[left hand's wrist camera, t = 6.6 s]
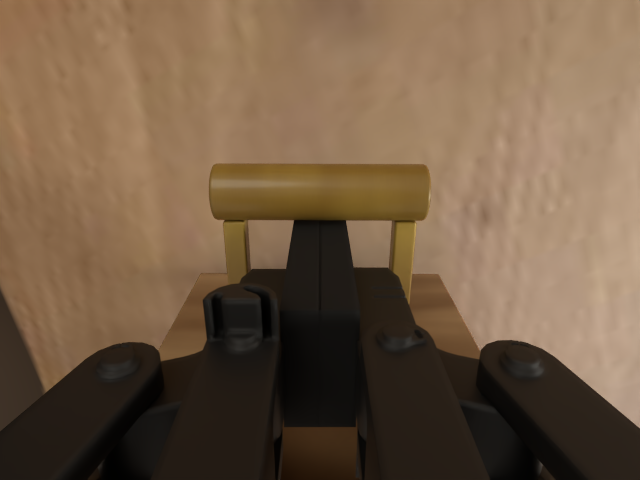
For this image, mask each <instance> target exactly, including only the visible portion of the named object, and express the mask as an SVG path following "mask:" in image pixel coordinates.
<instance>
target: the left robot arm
mask: <svg viewBox="0 0 640 480" xmlns="http://www.w3.org/2000/svg"><path fill="white" fill-rule="evenodd" d="M203 309H204V318H205V327H206V336H207V340H206V343H205V345H204V348H203V350H202V351H199V352H197V353H195V354H191V355H188V356H184V357H179V358H174V359H170V360H165V361H161V359H160V353H159V351H158V350H157V349H156V348H155V347H154V346H151V345H148V344H145V343H136V342H128V343H122V344H116V345H112V346H110V347H107V348H105V349H102V350H100V351H97V352H96V353H94V354H93V355H91V356H90V357H88V358H87V359H85V360H84V361H83V362H82V363H81V364H79V365H78V366H77V367H76V368H75V369H74V370H72V371H71V372H70V373H69V374H68V375H66V376H65V377H64V378H63V379H62V380H61V381H59V382H58V383H57V384H56V385H55V386H53V387H52V388H51V389H50V390H49V391H48V392H46V393H45V394H44V395H43V396H42V397H40V398H39V399H38V400H37V401H36V402H35V403H33V404H32V405H31V406H30V407H29V408H27V409H26V410H25V411H24V412H23V413H22V414H20V415H19V416H18V417H17V418H16V419H14V420H13V421H12V422H11V423H10V424H9V425H7V426H6V427H5V428H4V429H3V430H2V431H0V480H280V479H281V468H282V458H283V419H284V427H356V418H357V427H358V428H357V453H356V477H355V478H360V480H640V428H639V427H637V426H636V425H635V424H634V423H633V422H631V421H630V420H629V419H628V418H627V417H625V416H624V415H623V414H622V413H621V412H619V411H618V410H617V409H616V408H615V407H614V406H612V405H611V404H610V403H609V402H608V401H606V400H605V399H604V398H603V397H602V396H600V395H599V394H598V393H597V392H596V391H594V390H593V389H592V388H591V387H590V386H589V385H587V384H586V383H585V382H584V381H583V380H581V379H580V378H579V377H578V376H577V375H575V374H574V373H573V372H572V371H571V370H569V369H568V368H567V367H566V366H565V365H564V364H562V363H561V362H560V361H559V360H558V359H556V358H555V357H554V356H552V355H551V354H549V353H548V352H546V351H545V350H543V349H541V348H538V347H536V346H533V345H531V344H528V343H525V342H521V341H520V342H518V341H513V340H502V341H495V342H492V343H489V344H486V345H485V347H484V348H483V349H482V350H481V351H480V358H479V359H475V358H470V357H465V356H460V355H456V354H452V353H448V352H445V351H443V350H441V349H438V348H437V347H436V345H435V342H434V340H433V338H432V337H431V335H430V334H429V333H428V331H426V330H425V329H423V328H421V327H420V326H418V325H416V323H415V320H414V317H413V314H412V312H411V309H410V306H409V303H408V301H407V298H406V295H405V292H404V290H403V287H402V284H401V282H400V279H399V276H397V275H396V274H395V273H393V272H392V271H391V270H390V269H388V268H353V262H352V256H351V250H350V244H349V237H348V231H347V225H346V220H294V224H293V231H292V237H291V243H290V249H289V255H288V261H287V267H286V269H252V270H251V271H250V272H248V273H247V274H246V275H245V276H243V277H242V278H241V280H240V283H237V284H230V285H226V286H223V287H219V288H217V289H215V290H213V291H212V292H210V293H208V294H207V295H206V297H205V298H204V299H203Z"/></svg>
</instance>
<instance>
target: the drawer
mask: <svg viewBox="0 0 640 480" xmlns="http://www.w3.org/2000/svg"><path fill="white" fill-rule="evenodd" d="M209 200H210V207H211V211H212V214H213V216H214V218H215V219H217V220H225V221H224V222H223V228H224V240H225V252H226V264H227V274H222V273H202V274H200V276H199V278H198V280H197V282H196V283H195V285H194V287H193V289H192V291H191V292H190V294H189V296H188V298H187V300H186V301H185V303H184V305H183V307H182V309H181V310H180V312H179V314H178V316H177V318H176V319H175V321H174V323H173V325H172V327H171V329H170V330H169V332H168V334H167V336H166V338H165V339H164V341H163V343H162V345H161V347H160V348H159V350H158V351H159V353H160V359H161V361H165V360H170V359H174V358H179V357H184V356H188V355H191V354H195V353H197V352H199V351H202V350H203V348H204V345H205V343H206V340H207V336H206V327H205V318H204V309H203V299H204V298H205V297H206V295H207V294H208V293H210V292H212V291H213V290H215V289H217V288H219V287H223V286H226V285H230V284H237V283H240V280H241V278H242V277H243V276H245V275H246V274H247V273H248V272H250V271H251V266H250V250H249V233H248V220H385V221H392V230H391V244H390V259H389V269H390V270H391V271H392V272H393V273H395V274H396V275H397V276H399V279H400V282H401V284H402V287H403V290H404V292H405V295H406V298H407V301H408V303H409V306H410V309H411V312H412V314H413V317H414V320H415V323H416V325H418V326H420V327H421V328H423V329H425V330H426V331H428V333H429V334H430V335H431V337H432V338H433V340H434V342H435V345H436V347H437V348H438V349H441V350H443V351H445V352H448V353H452V354H456V355H460V356H465V357H470V358H475V359H479V358H480V350H479V348H478V346H477V344H476V343H475V341H474V339H473V337H472V335H471V333H470V331H469V330H468V328H467V326H466V324H465V322H464V320H463V319H462V317H461V315H460V313H459V311H458V309H457V307H456V306H455V304H454V302H453V300H452V298H451V296H450V295H449V293H448V291H447V289H446V287H445V285H444V283H443V282H442V280H441V278H440V276H439V275H438V274H412V269H413V258H414V247H415V236H416V225H417V224H416V222H415V221H422V220H424V219H425V218H426V217H427V214H428V211H429V207H430V200H431V180H430V174H429V170H428V168H427V166H426V165H424V164H215V165H213V167H212V170H211V173H210V179H209ZM357 428H358V427H357V418H356V427H284V419H283V458H282V468H281V479H280V480H360V478H355V477H356V453H357Z"/></svg>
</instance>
